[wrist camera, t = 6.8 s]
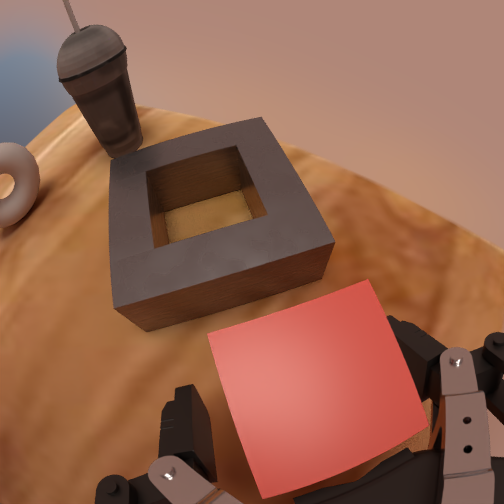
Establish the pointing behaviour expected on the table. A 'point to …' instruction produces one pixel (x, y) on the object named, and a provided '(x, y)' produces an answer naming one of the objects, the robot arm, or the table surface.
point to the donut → (18, 182)
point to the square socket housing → (215, 242)
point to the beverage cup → (100, 85)
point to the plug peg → (316, 388)
